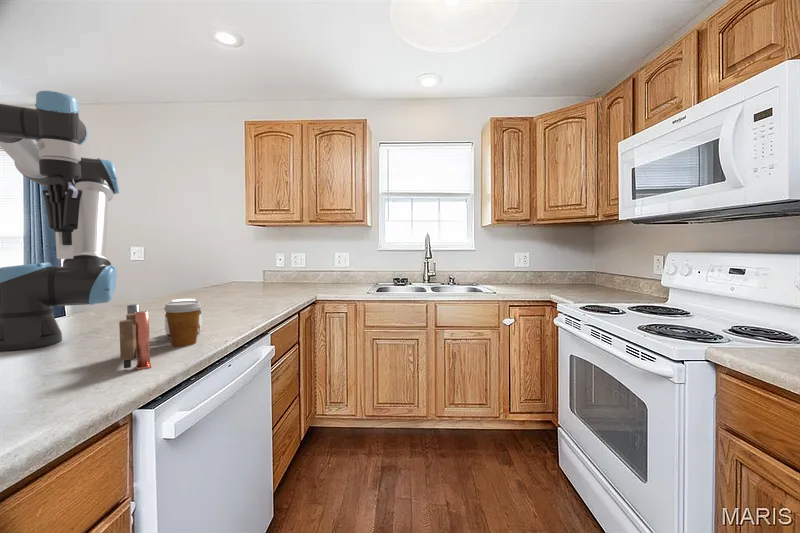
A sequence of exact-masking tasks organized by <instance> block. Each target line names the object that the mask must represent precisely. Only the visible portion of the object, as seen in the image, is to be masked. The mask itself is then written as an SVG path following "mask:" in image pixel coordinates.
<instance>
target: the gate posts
mask: <svg viewBox="0 0 800 533" xmlns="http://www.w3.org/2000/svg"><path fill="white" fill-rule="evenodd" d="M126 307H127V308H126V309H127V313H126V315H127V314H134V313H135V324H136V355H134V357H136V365H135V368H136V371H137V370H143V369H144V370H146V369H151V368H152V364H151V353H150V352H151V346H150V345H151V344H150V314H149V311H147V310H142V311H141V310H140V309H141V308H140V304H128V305H127V306H126Z"/></svg>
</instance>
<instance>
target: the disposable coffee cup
mask: <svg viewBox="0 0 800 533" xmlns="http://www.w3.org/2000/svg"><path fill="white" fill-rule="evenodd" d="M163 310H164V312H165V314H166V315H167V321H168V327H169V333H170V337H169V339H170V343H171V346H172V347H187V346H186V345H188V346H192V345H195V344H197V338H198V335H197V332H198V323H199V315H200V310H202V304H201V302H200V301H197V300H196V301H178V302H171V301H170V302H167V303H165V306H164V308H163Z"/></svg>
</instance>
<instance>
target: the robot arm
mask: <svg viewBox="0 0 800 533" xmlns="http://www.w3.org/2000/svg"><path fill="white" fill-rule="evenodd" d="M78 104H79V103H78V100H77V98H75V97H74V96H71V95H69V94H67V93H62V92H58V91H52V90H40V91H38V92H36V94H35V104H34V107H35V108H32V107H26V106H24V107H23V106H17V105H10V104H5V103H4V104H3V103H0V147H1V149H2V150H3V151H4V152H5V153H6V154H7V155H8V156H9V157H10V158H11V160H13V161H14V166H15V168H16V170H18V172H19V173H20V174H21V175H22V176H24V177H25V178H27V179H28V180H30V181H32V182H34V183H36V184H39V185H41V186H43V187H46V188H47V190H46V189H43V190H42V196H43V199H44V201H45V202H44V203H45V209H46V214H47V218H48V219H47V220H48V224H49V228H50V229H53V232H54V233H55V250H56V259H57V260H63V261H62V266H53V264H52V263H51V262H49V261H48V262H47V261H46V262H38V263H28V264H27V263H26V264H20V265H11V266H10V265H9V266H4V267H3V266H2V267H0V352H9V351H10V352H11V351H20V350H21V351H22V350H29V349H34V348H35V349H36V348H40V347H46V346H50V345H54V344H57V343H60V342H62V341H63V333H62V330H61V329H60V326H59V325H58V323H57V320H56V318H55V316H54V307H65V306H66V307H68V306H84V305H86V306H87V305H92V306H93V305H96V304H106V303H109V302H110V301H111V300H112V299H113V298H114V295H115V291H116V286H117V277H118V276H117V274H118V272H117V271H118V270H117V267H116V266H115V265H112V262H111V260H110V259H109V258H107V257H106V254H107V253H106V251H107V249H106V248H107V229H108V228H107V224H108V222H107V221H108V202H110V201H112V200H113V199H114V195H117V194H119V193H120V191H119V183H118V180H117V179H118V177H117V173H116V172H117V171H116V168H115V164H114V162H113V161H111V160H108V159H101V158H99V157H98V158H90V157H89V158H88V157H81V152H82V151H81V145H82V144H84V143H85V142H86V141H87V139H88V131H87V127H86V125H85V124H84V122H83V121H82V120H81V118H80V116H79V115H80V113H79V112H80V110H79V105H78Z"/></svg>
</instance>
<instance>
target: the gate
mask: <svg viewBox="0 0 800 533" xmlns="http://www.w3.org/2000/svg"><path fill="white" fill-rule="evenodd" d="M125 317H126V318H125V319H123V320H122V319H121V320H120V321H119V322H118V323H119V324H118V325H119V327H118V328H119V349H120V350H119V355H120V361H121V362H123V369H129V368H132V360H133V359H134V357H135V356H134V355H136V324H135V313H134V314H127V313H126V316H125Z"/></svg>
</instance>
